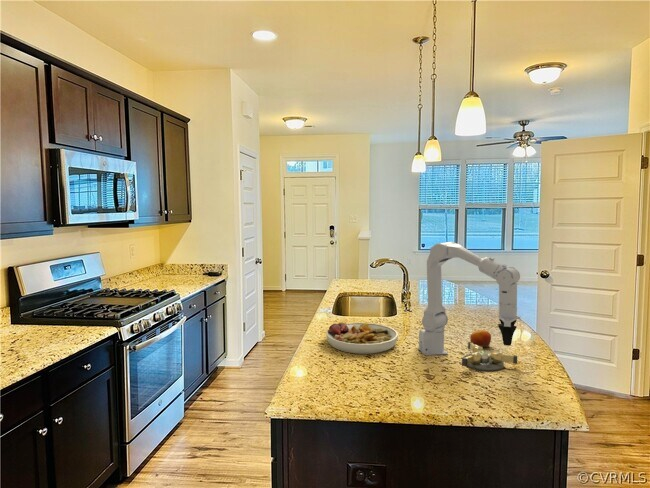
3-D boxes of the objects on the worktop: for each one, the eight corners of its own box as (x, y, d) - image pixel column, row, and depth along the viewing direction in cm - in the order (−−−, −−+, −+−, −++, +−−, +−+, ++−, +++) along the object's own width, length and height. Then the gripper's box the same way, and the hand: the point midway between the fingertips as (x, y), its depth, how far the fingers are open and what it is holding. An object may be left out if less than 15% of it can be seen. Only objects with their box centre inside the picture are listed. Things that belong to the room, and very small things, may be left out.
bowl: (401, 336, 186) (401, 318, 185) (393, 360, 157) (393, 339, 156) (336, 331, 194) (336, 314, 193) (317, 353, 165) (317, 333, 164)
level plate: (472, 372, 144) (473, 359, 143) (456, 357, 158) (456, 346, 157) (511, 370, 145) (511, 357, 144) (491, 356, 159) (492, 344, 158)
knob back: (484, 356, 154) (484, 347, 154) (474, 357, 154) (475, 348, 153) (474, 349, 162) (474, 340, 162) (465, 349, 162) (465, 340, 162)
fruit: (481, 348, 163) (475, 328, 167) (470, 352, 170) (465, 333, 174) (498, 346, 166) (492, 326, 169) (487, 350, 172) (481, 331, 176)
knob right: (490, 362, 148) (490, 353, 148) (491, 359, 152) (491, 349, 151) (517, 366, 145) (517, 356, 144) (517, 362, 148) (517, 353, 148)
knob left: (474, 359, 151) (474, 350, 151) (482, 362, 148) (483, 353, 148) (459, 365, 146) (459, 355, 146) (467, 368, 143) (468, 358, 143)
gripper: (521, 308, 133) (520, 349, 134) (520, 299, 147) (519, 337, 148) (497, 307, 136) (497, 347, 137) (498, 298, 149) (498, 335, 151)
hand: (507, 341), depth 143 cm, fingers open, 7 cm apart
